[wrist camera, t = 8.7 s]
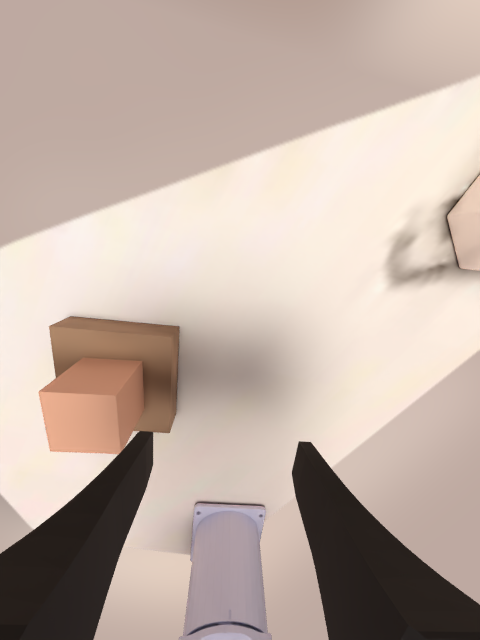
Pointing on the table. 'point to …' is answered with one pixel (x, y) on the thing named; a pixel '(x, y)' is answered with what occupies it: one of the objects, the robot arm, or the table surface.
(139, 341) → the base block
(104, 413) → the cube
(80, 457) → the table surface
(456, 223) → the jar
